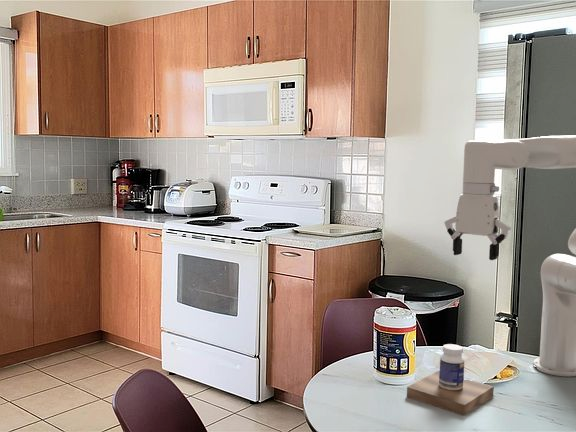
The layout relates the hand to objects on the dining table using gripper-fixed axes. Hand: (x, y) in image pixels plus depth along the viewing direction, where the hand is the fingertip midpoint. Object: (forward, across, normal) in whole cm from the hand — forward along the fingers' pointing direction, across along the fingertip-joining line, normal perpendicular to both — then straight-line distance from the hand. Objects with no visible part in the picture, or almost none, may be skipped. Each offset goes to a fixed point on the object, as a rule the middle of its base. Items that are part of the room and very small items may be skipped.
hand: (475, 256), depth 160 cm
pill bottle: (+30, -2, +14) cm, 33 cm away
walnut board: (+32, -2, +14) cm, 35 cm away
